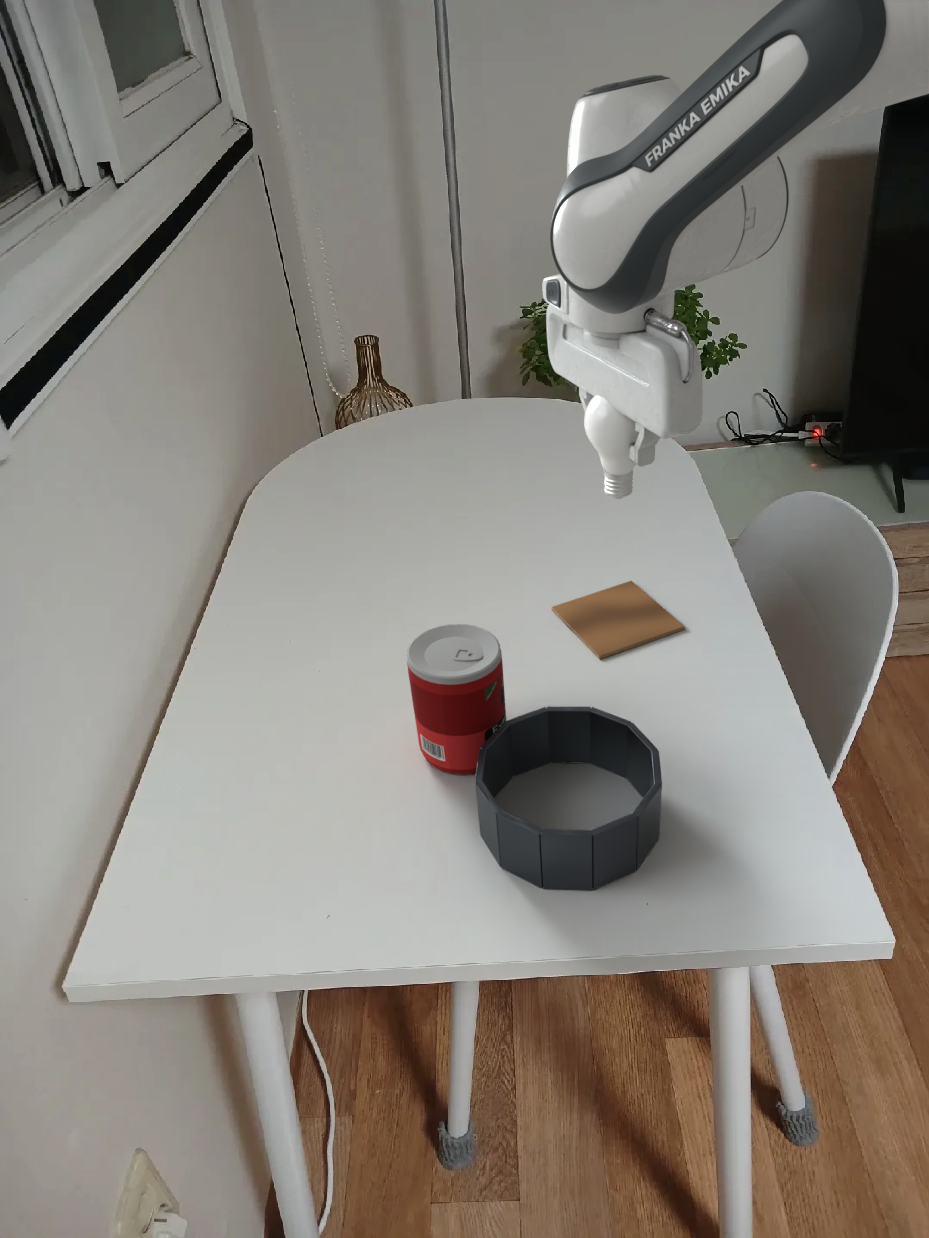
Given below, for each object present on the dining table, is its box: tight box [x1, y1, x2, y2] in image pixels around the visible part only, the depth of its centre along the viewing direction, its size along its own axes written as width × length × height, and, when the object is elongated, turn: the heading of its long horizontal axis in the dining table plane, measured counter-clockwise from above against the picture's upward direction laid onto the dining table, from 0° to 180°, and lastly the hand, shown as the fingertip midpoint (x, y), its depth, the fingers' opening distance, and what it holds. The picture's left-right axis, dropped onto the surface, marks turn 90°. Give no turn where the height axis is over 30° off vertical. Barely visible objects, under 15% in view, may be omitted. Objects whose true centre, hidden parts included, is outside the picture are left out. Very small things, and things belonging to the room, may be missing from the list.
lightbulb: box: [583, 395, 639, 500], centre depth 88 cm, size 6×6×11 cm
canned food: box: [406, 623, 507, 775], centre depth 82 cm, size 8×8×11 cm
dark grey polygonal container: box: [474, 705, 663, 891], centre depth 76 cm, size 14×14×6 cm
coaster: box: [550, 580, 685, 660], centre depth 99 cm, size 10×10×1 cm
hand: (619, 447), depth 88 cm, fingers closed on lightbulb, 6 cm apart
